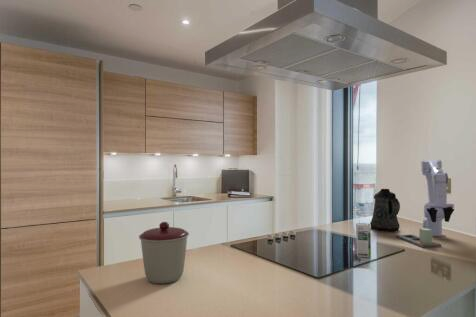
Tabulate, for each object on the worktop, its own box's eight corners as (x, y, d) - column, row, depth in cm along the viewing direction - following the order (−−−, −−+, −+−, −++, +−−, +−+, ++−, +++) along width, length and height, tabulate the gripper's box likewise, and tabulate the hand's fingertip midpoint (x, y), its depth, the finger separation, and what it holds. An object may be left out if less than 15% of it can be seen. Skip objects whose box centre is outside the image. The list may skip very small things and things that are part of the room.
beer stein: (378, 225, 208) (377, 187, 208) (409, 230, 193) (409, 189, 193) (365, 229, 197) (364, 189, 197) (397, 234, 182) (396, 191, 182)
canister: (137, 273, 123) (137, 219, 123) (184, 267, 130) (183, 216, 130) (140, 292, 106) (140, 229, 106) (194, 284, 113) (193, 224, 113)
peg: (419, 244, 162) (419, 228, 162) (426, 243, 163) (426, 228, 163) (425, 246, 159) (424, 230, 159) (432, 245, 159) (432, 230, 159)
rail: (396, 237, 177) (396, 234, 177) (412, 236, 178) (412, 234, 178) (423, 247, 156) (423, 244, 156) (441, 246, 157) (441, 244, 157)
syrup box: (357, 256, 142) (356, 224, 142) (356, 253, 148) (356, 222, 148) (370, 258, 141) (370, 225, 141) (369, 254, 146) (369, 222, 146)
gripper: (433, 197, 162) (433, 223, 162) (458, 196, 164) (458, 222, 164) (423, 195, 169) (423, 221, 169) (448, 195, 171) (448, 220, 171)
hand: (440, 221), depth 167 cm, fingers open, 7 cm apart
